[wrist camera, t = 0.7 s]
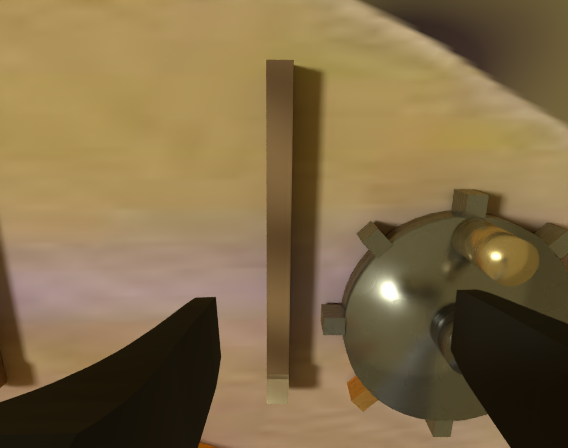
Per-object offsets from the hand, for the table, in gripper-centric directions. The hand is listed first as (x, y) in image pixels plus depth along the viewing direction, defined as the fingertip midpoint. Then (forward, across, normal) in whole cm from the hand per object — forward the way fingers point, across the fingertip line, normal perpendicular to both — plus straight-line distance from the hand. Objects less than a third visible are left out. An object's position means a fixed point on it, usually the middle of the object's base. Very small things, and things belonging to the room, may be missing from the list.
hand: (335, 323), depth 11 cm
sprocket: (+9, -8, +5) cm, 13 cm away
